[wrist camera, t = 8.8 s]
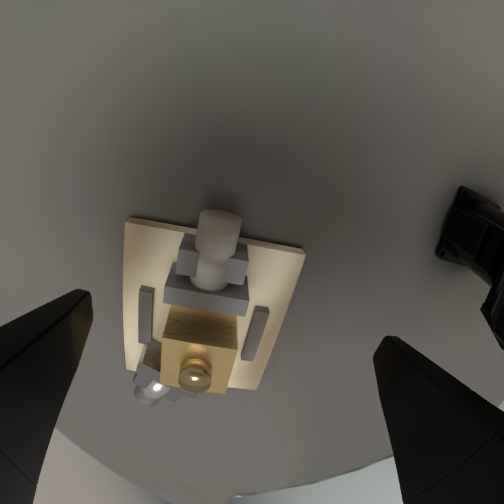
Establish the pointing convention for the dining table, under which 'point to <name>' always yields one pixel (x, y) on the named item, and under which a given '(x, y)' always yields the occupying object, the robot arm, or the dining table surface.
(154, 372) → the shaft
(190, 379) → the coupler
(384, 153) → the dining table surface
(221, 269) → the cream mounting plate
